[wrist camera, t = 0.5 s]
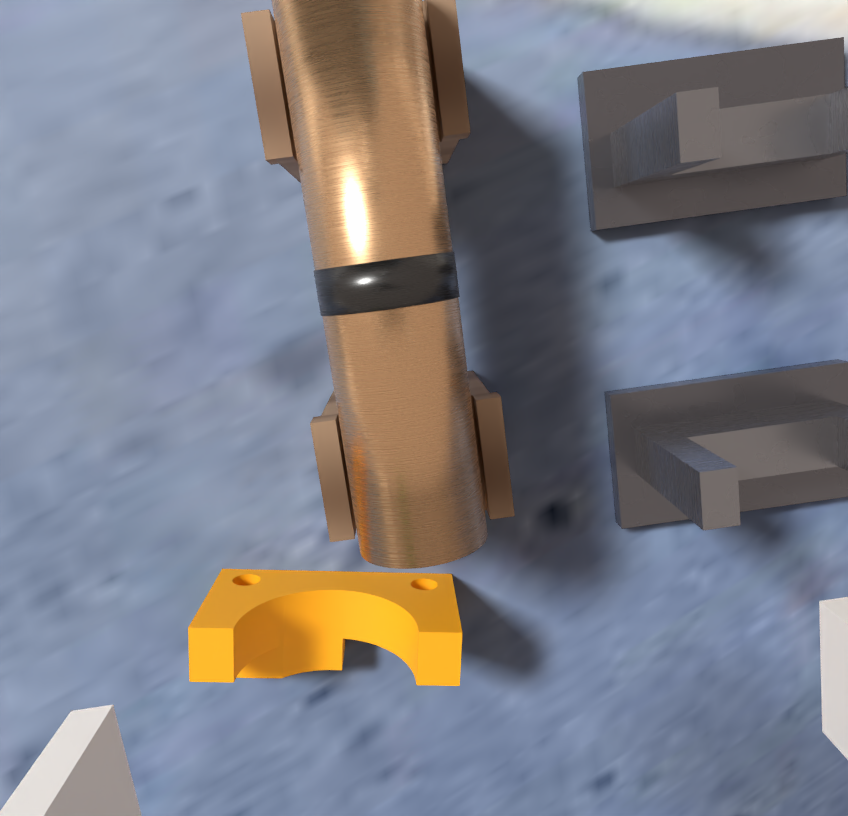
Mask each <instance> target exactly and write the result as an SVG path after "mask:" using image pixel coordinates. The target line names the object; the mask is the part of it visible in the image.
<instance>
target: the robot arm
mask: <svg viewBox="0 0 848 816" xmlns="http://www.w3.org/2000/svg"><path fill="white" fill-rule="evenodd" d="M819 604H820V648H821V692H822V732H823V733H824V734H825V735H826V736H827V737H828V738H829V739H830V741H831V742H832V743H833V744H834V745H835V746H836V747H837V748H838V749H839V751H840V752H841V753H842V754H843V755H844V756H845V757H846V758H847V759H848V597H844V598H837V599H831V600H824V601H819ZM0 816H141V812H140V808H139V804H138V800H137V796H136V792H135V788H134V784H133V781H132V777H131V773H130V769H129V765H128V761H127V757H126V753H125V749H124V746H123V742H122V738H121V734H120V730H119V726H118V722H117V718H116V714H115V710H114V707H113V705H108V706H102V707H95V708H88V709H81V710H74V711H71V712H70V714H69V715H68V716H67V718H66V719H65V721H64V722H63V723H62V725H61V726H60V728H59V729H58V730H57V732H56V733H55V735H54V736H53V738H52V739H51V740H50V742H49V743H48V745H47V746H46V747H45V749H44V750H43V752H42V753H41V754H40V756H39V757H38V759H37V760H36V761H35V763H34V764H33V766H32V767H31V769H30V770H29V771H28V773H27V774H26V776H25V777H24V778H23V780H22V781H21V783H20V784H19V785H18V787H17V788H16V790H15V791H14V793H13V794H12V795H11V797H10V798H9V800H8V801H7V802H6V804H5V805H4V807H3V808H2V809H1V811H0Z"/></svg>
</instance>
